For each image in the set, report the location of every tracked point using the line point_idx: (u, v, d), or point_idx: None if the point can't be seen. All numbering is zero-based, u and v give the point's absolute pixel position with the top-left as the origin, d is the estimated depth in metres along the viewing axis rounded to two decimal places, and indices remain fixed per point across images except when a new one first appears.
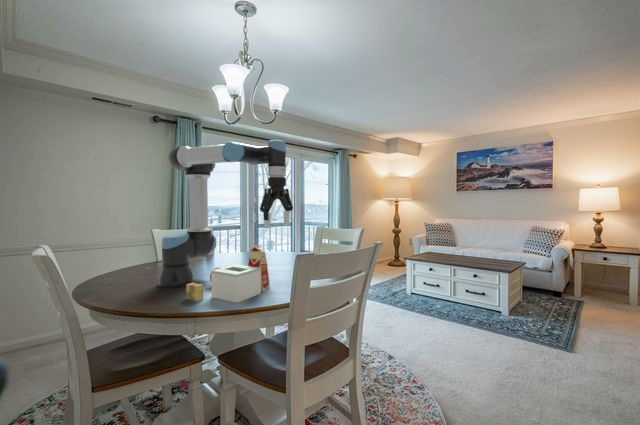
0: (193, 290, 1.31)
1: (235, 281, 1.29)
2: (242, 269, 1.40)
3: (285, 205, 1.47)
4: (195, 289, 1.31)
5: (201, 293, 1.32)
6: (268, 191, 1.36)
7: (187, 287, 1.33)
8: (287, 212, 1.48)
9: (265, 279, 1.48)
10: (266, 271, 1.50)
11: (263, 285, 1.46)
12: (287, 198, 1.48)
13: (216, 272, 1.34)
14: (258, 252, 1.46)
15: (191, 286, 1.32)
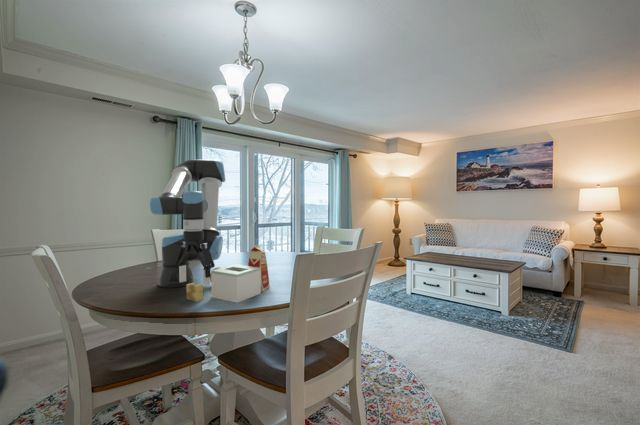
0: (193, 290, 1.31)
1: (235, 281, 1.29)
2: (242, 269, 1.40)
3: None
4: (195, 289, 1.31)
5: (201, 293, 1.32)
6: None
7: (187, 287, 1.33)
8: None
9: (265, 279, 1.48)
10: (266, 271, 1.50)
11: (263, 285, 1.46)
12: None
13: (216, 272, 1.34)
14: (258, 252, 1.46)
15: (191, 286, 1.32)
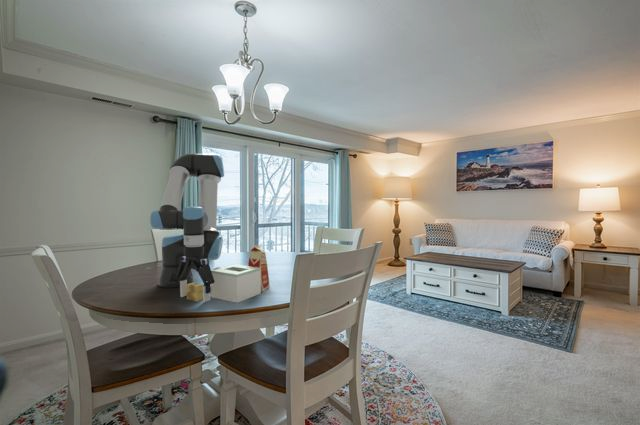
0: (193, 290, 1.31)
1: (235, 281, 1.29)
2: (242, 269, 1.40)
3: None
4: (195, 289, 1.31)
5: (201, 293, 1.32)
6: None
7: (187, 287, 1.33)
8: None
9: (265, 279, 1.48)
10: (266, 271, 1.50)
11: (263, 285, 1.46)
12: None
13: (216, 272, 1.34)
14: (258, 252, 1.46)
15: (191, 286, 1.32)
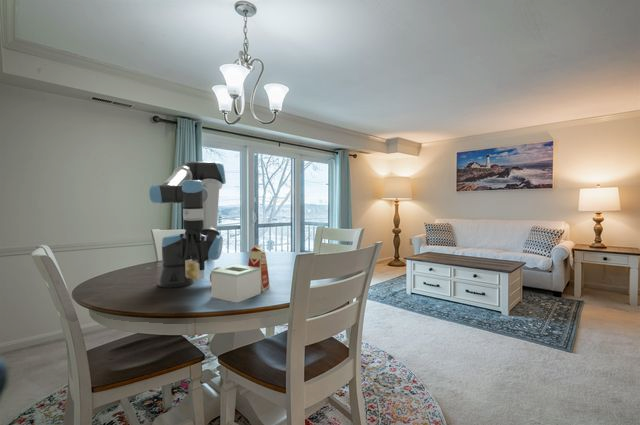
0: (192, 268, 1.31)
1: (235, 281, 1.29)
2: (242, 269, 1.40)
3: None
4: (195, 267, 1.31)
5: None
6: None
7: (187, 266, 1.33)
8: None
9: (265, 279, 1.48)
10: (266, 271, 1.50)
11: (263, 285, 1.46)
12: None
13: (216, 272, 1.34)
14: (258, 252, 1.46)
15: (191, 264, 1.32)
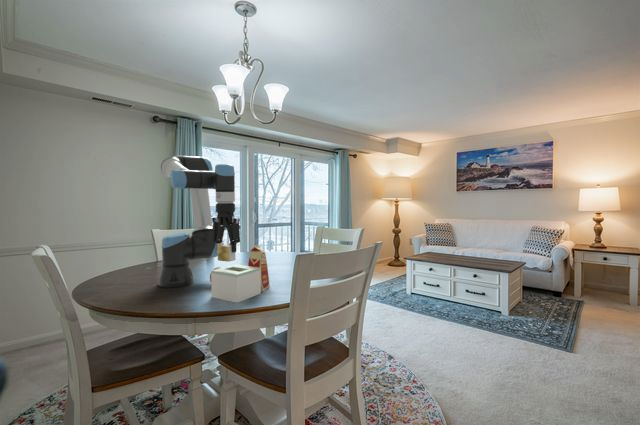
0: (224, 250, 1.34)
1: (235, 281, 1.29)
2: (242, 269, 1.40)
3: None
4: (227, 249, 1.33)
5: None
6: None
7: (218, 248, 1.35)
8: None
9: (265, 279, 1.48)
10: (266, 271, 1.50)
11: (263, 285, 1.46)
12: None
13: (216, 272, 1.34)
14: (258, 252, 1.46)
15: (222, 247, 1.34)
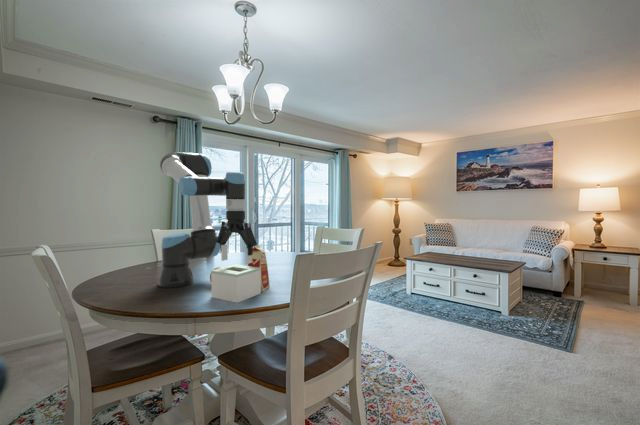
0: None
1: (235, 281, 1.29)
2: (242, 269, 1.40)
3: None
4: None
5: None
6: None
7: None
8: None
9: (265, 279, 1.48)
10: (266, 271, 1.50)
11: (263, 285, 1.46)
12: None
13: (216, 272, 1.34)
14: (258, 252, 1.46)
15: None
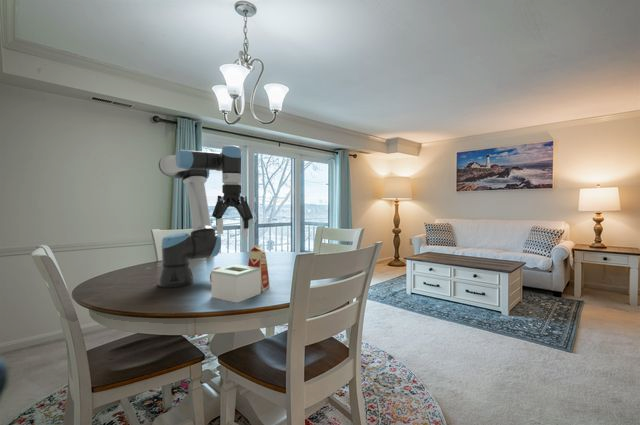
0: None
1: (235, 281, 1.29)
2: (242, 269, 1.40)
3: None
4: None
5: None
6: None
7: None
8: None
9: (265, 279, 1.48)
10: (266, 271, 1.50)
11: (263, 285, 1.46)
12: None
13: (216, 272, 1.34)
14: (258, 252, 1.46)
15: None
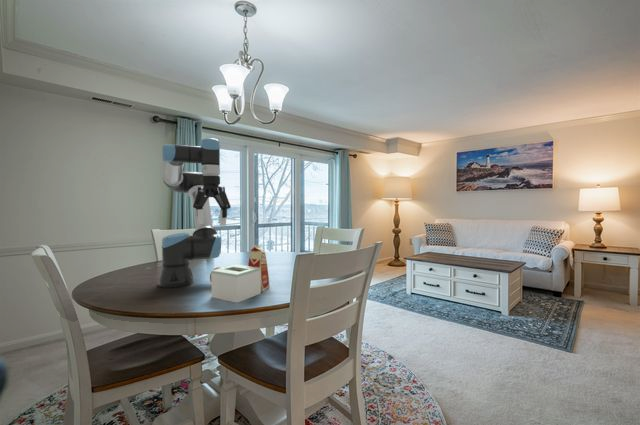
0: None
1: (235, 281, 1.29)
2: (242, 269, 1.40)
3: None
4: None
5: None
6: None
7: None
8: None
9: (265, 279, 1.48)
10: (266, 271, 1.50)
11: (263, 285, 1.46)
12: None
13: (216, 272, 1.34)
14: (258, 252, 1.46)
15: None
